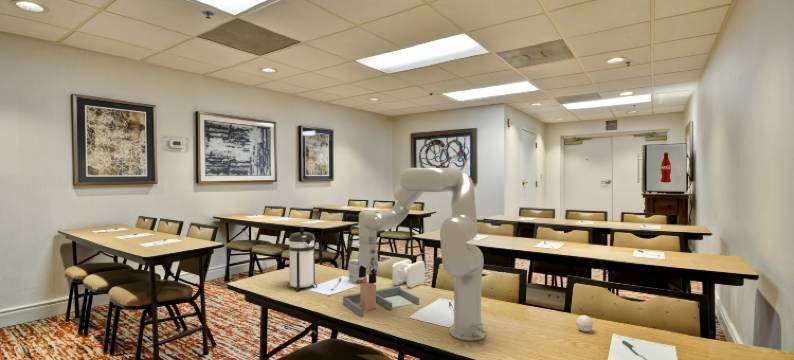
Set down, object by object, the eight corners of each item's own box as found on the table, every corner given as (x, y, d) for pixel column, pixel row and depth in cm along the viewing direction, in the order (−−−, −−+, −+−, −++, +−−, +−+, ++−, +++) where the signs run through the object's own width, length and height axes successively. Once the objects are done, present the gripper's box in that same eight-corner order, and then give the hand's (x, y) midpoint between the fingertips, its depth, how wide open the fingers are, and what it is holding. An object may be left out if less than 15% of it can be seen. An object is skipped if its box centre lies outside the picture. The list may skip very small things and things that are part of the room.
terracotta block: (376, 308, 164) (375, 284, 164) (365, 310, 161) (365, 286, 161) (370, 304, 168) (370, 282, 168) (360, 307, 166) (360, 283, 165)
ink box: (367, 282, 201) (367, 260, 201) (361, 285, 197) (361, 262, 197) (354, 280, 206) (354, 258, 206) (348, 282, 202) (348, 260, 202)
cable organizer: (408, 290, 189) (408, 266, 189) (391, 286, 196) (391, 263, 195) (425, 283, 201) (425, 260, 201) (408, 279, 208) (408, 258, 207)
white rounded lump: (578, 326, 144) (578, 311, 144) (594, 330, 140) (595, 315, 140) (572, 333, 138) (572, 317, 138) (589, 337, 134) (589, 321, 134)
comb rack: (419, 304, 168) (419, 296, 168) (360, 316, 154) (360, 308, 154) (398, 293, 184) (398, 286, 184) (343, 303, 170) (343, 295, 170)
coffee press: (322, 283, 201) (321, 225, 200) (311, 292, 185) (310, 230, 185) (290, 281, 204) (290, 225, 203) (276, 291, 188) (276, 229, 187)
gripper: (385, 242, 159) (384, 284, 159) (366, 236, 173) (366, 274, 174) (368, 244, 155) (368, 286, 155) (351, 237, 170) (350, 276, 170)
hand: (367, 280), depth 165 cm, fingers open, 9 cm apart
